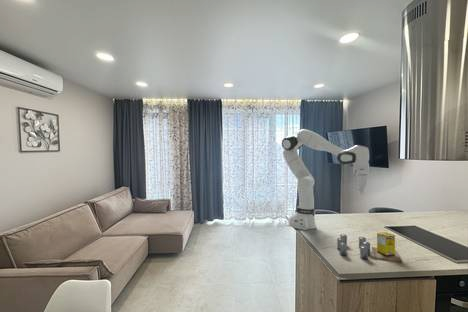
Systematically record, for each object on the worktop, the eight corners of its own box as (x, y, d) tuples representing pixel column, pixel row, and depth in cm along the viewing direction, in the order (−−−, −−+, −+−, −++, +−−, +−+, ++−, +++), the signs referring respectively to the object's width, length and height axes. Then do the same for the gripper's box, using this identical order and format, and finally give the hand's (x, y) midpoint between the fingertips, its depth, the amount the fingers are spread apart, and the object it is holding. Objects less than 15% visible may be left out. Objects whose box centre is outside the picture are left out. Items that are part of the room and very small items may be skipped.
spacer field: (336, 254, 126) (336, 244, 126) (337, 243, 141) (337, 233, 141) (371, 260, 118) (371, 249, 118) (368, 247, 134) (368, 237, 134)
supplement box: (395, 255, 122) (395, 235, 122) (386, 256, 121) (386, 236, 121) (385, 250, 128) (385, 231, 128) (376, 252, 127) (376, 232, 126)
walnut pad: (374, 258, 121) (374, 256, 121) (372, 248, 133) (372, 247, 133) (402, 263, 116) (402, 261, 116) (396, 252, 128) (396, 250, 128)
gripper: (355, 169, 154) (355, 189, 155) (356, 171, 136) (356, 194, 136) (365, 169, 152) (365, 190, 152) (368, 172, 133) (368, 195, 134)
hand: (361, 192), depth 144 cm, fingers open, 8 cm apart
